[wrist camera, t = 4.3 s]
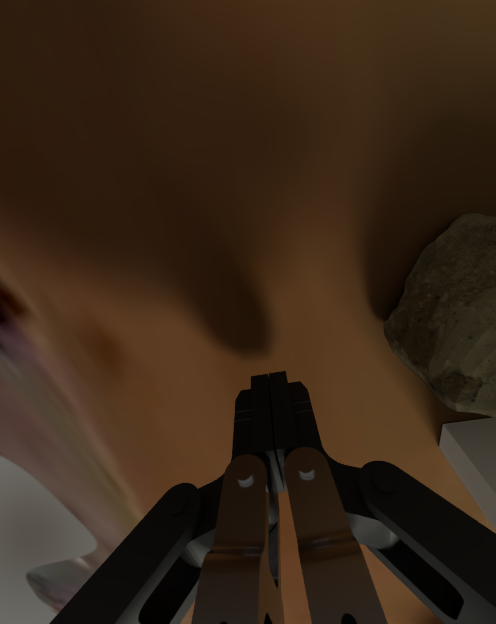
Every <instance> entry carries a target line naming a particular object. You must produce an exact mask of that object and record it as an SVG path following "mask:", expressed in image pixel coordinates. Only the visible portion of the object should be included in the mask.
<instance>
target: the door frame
mask: <svg viewBox="0 0 496 624" xmlns="http://www.w3.org/2000/svg"><path fill="white" fill-rule="evenodd" d="M439 448H440V450H441V451H442V453H443V454H444V456H445V457H446V459H447V460H448V462H449V463H450V465H451V466H452V467H453V469H454V470H455V472H456V473H457V475H458V476H459V478H460V479H461V481H462V482H463V484H464V485H465V487H466V488H467V490H468V491H469V493H470V494H471V496H472V497H473V499H474V500H475V502H476V503H477V505H478V506H479V508H480V509H481V510H482V512H483V513H484V515H485V516H486V518H487V519H488V521H489V522H490V524H491V525H492V527H493V528H494V530H495V531H496V418H494V417H493V418H485V419H478V420H470V421H463V422H455V423H448V424H443V427H442V432H441V438H440V444H439Z"/></svg>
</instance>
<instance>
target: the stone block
mask: <svg viewBox="0 0 496 624" xmlns="http://www.w3.org/2000/svg"><path fill="white" fill-rule="evenodd" d="M384 334H385V336H386V338H387V340H388V342H389V345H390V347H391V349H392V351H393V352H394V353H395V354H396V355H398V357H399V358H400V359H401V360H402V362H403V363H404V364H405V365H406V366H407V367H408V368H409V369H410V370H412V371H413V372H414V373H415V374H417V375H418V376H419V377H420V378H421V379H422V380H423V381H424V382H425V383H426V385H427V386H428V387H429V388H430V389H431V390H432V392H433V393H434V394H435V395H436V396H437V397H438V398H439V399H440V401H441V402H442V403H443V404H444V405H445V406H447V407H449V408H451V409H453V410H455V411H459V412H472V413H480V414H484V415H487V416H491V417H494V418H496V217H493V216H487V215H483V214H478V213H467V214H463V215H461V216H460V217H459V218H457V219H456V220H454V221H453V222H452V223H451V225H450V226H449V227H448V229H447V230H446V231H445V232H444V233H442V234H441V235H440V236H439V237H437V239H436V240H435V241H434V242H432V243H431V244H429V245H428V246H426V247H425V249H424V250H423V252H422V253H421V255H420V256H419V258H418V260H417V262H416V264H415V266H414V267H413V269H412V271H411V273H410V274H409V276H408V278H407V279H406V281H405V286H404V293H403V295H402V297H401V299H400V302H399V304H398V307H397V308H396V309H395V310H393V311H392V313H391V315H390V317H389V319H388V320H387V321H386V322H384Z"/></svg>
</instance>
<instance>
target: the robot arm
mask: <svg viewBox="0 0 496 624" xmlns="http://www.w3.org/2000/svg"><path fill="white" fill-rule="evenodd" d="M234 421H235V422H234V433H233V449H232V459H231V462H230V464H229V465H228V466H227V468H226V470H225V473H224V474H223V475H222V476H221V477H219V478H218V479H217V480H215V481H213V482H211V483H209V484H207V485H205V486H203V487H201V488H199V489H197V488H196V486H194V485H193V484H190V483H181V484H178V485H175V486H174V487H172V488H171V489H169V490H168V491H167V492H166V493H165V494H164V495H163V497H162V498H161V499H160V500H159V501H158V502H157V503H156V504H155V506H154V507H153V508H152V509H151V510H150V511H149V512H148V513H147V515H146V516H145V517H144V518H143V519H142V520H141V521H140V522H139V524H138V525H137V526H136V527H135V528H134V529H133V530H132V531H131V533H130V534H129V535H128V536H127V537H126V538H125V539H124V540H123V542H122V543H121V544H120V545H119V546H118V547H117V548H116V549H115V551H114V552H113V553H112V554H111V555H110V556H109V557H108V558H107V559H106V561H105V562H104V563H103V564H102V565H101V566H100V567H99V568H98V570H97V571H96V572H95V573H94V574H93V575H92V576H91V577H90V579H89V580H88V581H87V582H86V583H85V584H84V585H83V586H82V588H81V589H80V590H79V591H78V592H77V593H76V594H75V595H74V597H73V598H72V599H71V600H70V601H69V602H68V603H67V604H66V606H65V607H64V608H63V609H62V610H61V611H60V612H59V613H58V615H57V616H56V617H55V618H54V619H53V620H52V621H51V622H50V624H180V622H181V621H182V619H183V618H184V616H185V614H186V613H187V611H188V610H189V608H190V607H191V605H192V603H193V602H194V600H195V599H196V600H195V605H194V611H193V617H192V622H191V624H285V623H284V610H283V602H282V593H281V554H280V516H279V501H278V493H279V492H284V484H285V488H286V492H287V491H288V495H289V500H290V505H291V511H292V516H293V521H294V527H295V532H296V537H297V543H298V551H299V557H300V563H301V568H302V574H303V579H304V584H305V590H306V595H307V600H308V606H309V611H310V616H311V622H312V624H388V623H387V620H386V617H385V614H384V612H383V609H382V606H381V603H380V600H379V598H378V595H377V592H376V589H375V586H374V583H373V581H372V578H371V575H370V572H369V569H368V567H367V564H366V561H365V558H364V555H363V553H362V550H361V548H360V545H359V543H361V544H364V545H366V546H367V548H368V549H369V550H370V551H371V552H372V553H373V554H374V555H375V556H376V557H377V558H378V559H379V560H380V561H381V562H382V563H383V564H384V565H385V566H386V567H387V568H388V569H389V570H390V571H391V572H392V573H393V574H394V575H395V576H396V577H397V578H398V579H400V580H401V581H402V582H403V583H404V584H405V585H406V586H407V587H408V588H409V589H410V590H411V591H412V592H413V593H414V594H415V595H416V596H417V597H418V598H419V599H420V600H421V601H422V602H423V603H424V604H425V605H426V606H427V607H428V608H429V609H430V610H431V611H432V612H433V613H434V614H435V615H436V616H437V617H438V618H439V619H440V620H441V621H442V622H443V623H444V624H496V534H495V533H494V532H492V531H491V530H489V529H488V528H486V527H485V526H484V525H482V524H481V523H479V522H478V521H476V520H475V519H473V518H472V517H470V516H469V515H467V514H466V513H464V512H463V511H461V510H460V509H459V508H457V507H456V506H454V505H453V504H451V503H450V502H448V501H447V500H445V499H444V498H442V497H441V496H439V495H438V494H436V493H435V492H434V491H432V490H431V489H429V488H428V487H426V486H425V485H423V484H422V483H420V482H419V481H417V480H416V479H414V478H413V477H411V476H410V475H409V474H407V473H406V472H404V471H403V470H401V469H400V468H398V467H397V466H395V465H393V464H391V463H388V462H385V461H372V462H369V463H367V464H365V465H364V466H363V467H362V468H357V467H352V466H347V465H344V464H341V463H338V462H336V461H335V460H333V459H332V458H330V457H329V456H328V455H327V453H326V452H325V451H324V449H323V447H322V444H321V440H320V436H319V432H318V428H317V424H316V421H315V417H314V413H313V409H312V405H311V402H310V397H309V393H308V390H307V388H306V387H305V386H304V385H303V384H302V383H301V382H300V381H299V382H292V383H288V381H287V376H286V371H282V372H275V373H269V376H268V374H263V375H257V376H251V389H247V390H241V391H240V393H239V395H238V397H237V399H236V401H235V417H234ZM283 480H284V483H283Z"/></svg>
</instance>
